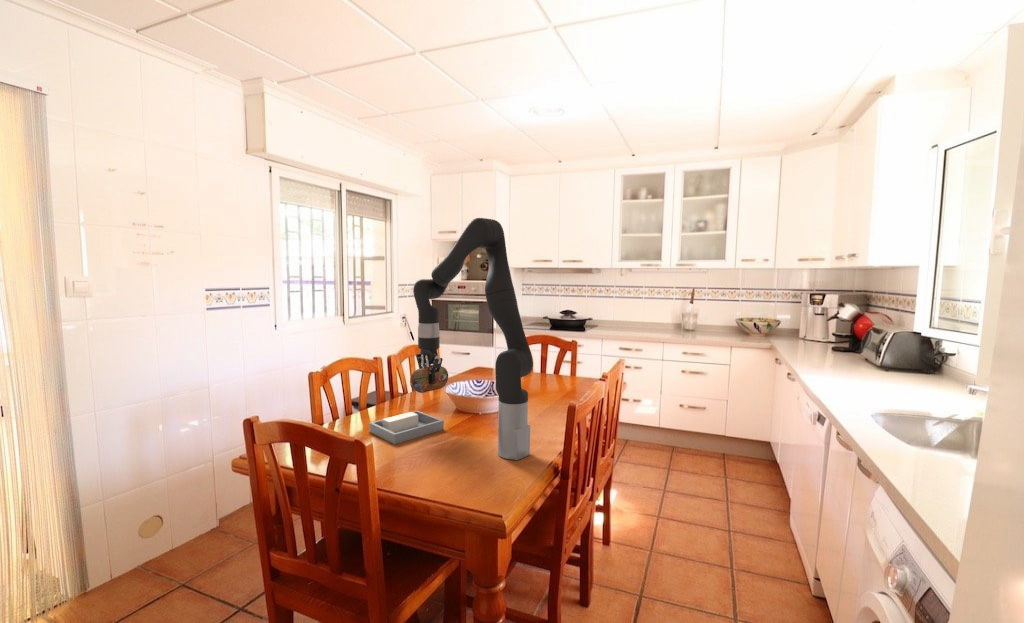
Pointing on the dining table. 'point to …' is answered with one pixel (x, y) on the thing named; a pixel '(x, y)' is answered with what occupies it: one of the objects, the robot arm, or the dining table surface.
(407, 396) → the dining table surface
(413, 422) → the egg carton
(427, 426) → the tray
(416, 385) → the tin
